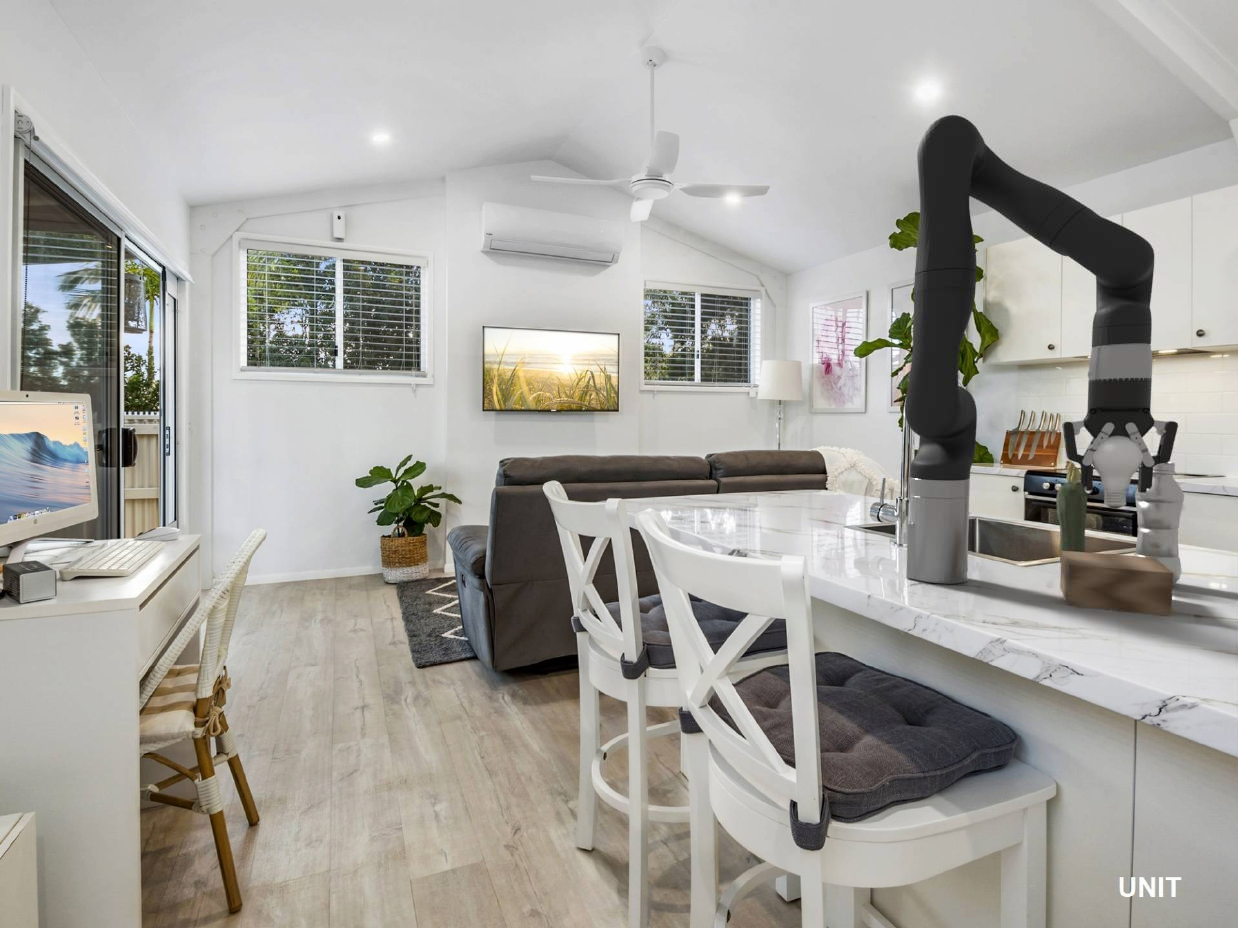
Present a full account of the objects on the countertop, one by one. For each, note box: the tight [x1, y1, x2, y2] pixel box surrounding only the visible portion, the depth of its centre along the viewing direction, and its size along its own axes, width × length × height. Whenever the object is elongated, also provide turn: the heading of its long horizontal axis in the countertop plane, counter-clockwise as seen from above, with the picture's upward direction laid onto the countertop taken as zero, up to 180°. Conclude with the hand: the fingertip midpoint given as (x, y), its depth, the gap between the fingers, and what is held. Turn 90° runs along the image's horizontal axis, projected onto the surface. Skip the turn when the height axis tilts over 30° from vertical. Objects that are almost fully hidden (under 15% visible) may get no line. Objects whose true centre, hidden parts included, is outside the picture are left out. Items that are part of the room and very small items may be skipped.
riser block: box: [1059, 551, 1174, 617], centre depth 102 cm, size 12×12×6 cm
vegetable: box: [1055, 460, 1088, 564], centre depth 118 cm, size 4×4×20 cm
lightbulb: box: [1092, 436, 1143, 510], centre depth 101 cm, size 6×6×11 cm
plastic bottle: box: [1133, 461, 1185, 585], centre depth 112 cm, size 6×7×20 cm
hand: (1115, 490), depth 102 cm, fingers closed on lightbulb, 6 cm apart
